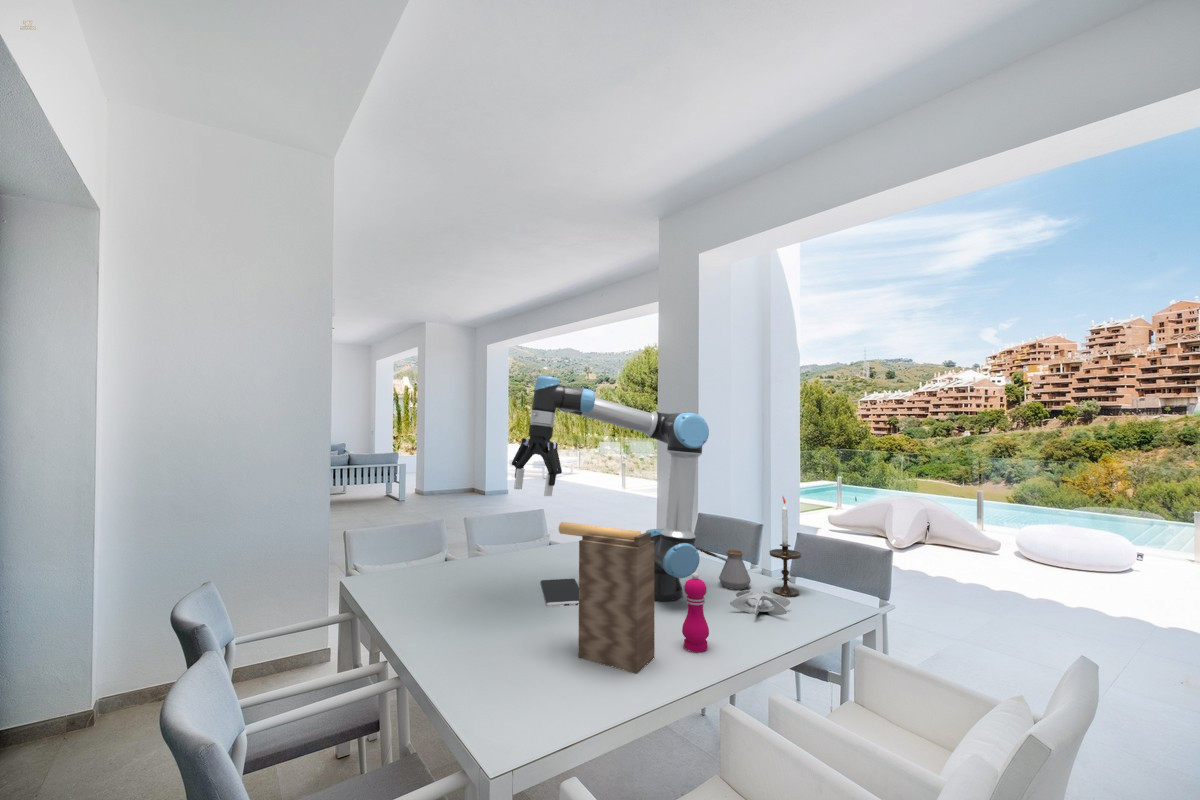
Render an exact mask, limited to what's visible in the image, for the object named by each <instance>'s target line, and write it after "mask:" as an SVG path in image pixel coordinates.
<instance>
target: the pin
mask: <svg viewBox="0 0 1200 800" xmlns="http://www.w3.org/2000/svg"><path fill="white" fill-rule="evenodd" d="M558 532H559V534H561V535H568V536H575V537H582V535H584V534H589V535H597V536H605V537H612V538H620V539H628V540H634V537H636V536H639V535H641V534H642V532H641V530H640V531H639V530H635V529H634V530H633V529H625V528H624V529H623V528H616V527H608V526H607V527H606V526H597V525H589V524H582V523H575V522H565V521H562V522H560V523H559V525H558Z"/></svg>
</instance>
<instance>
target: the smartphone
mask: <svg viewBox="0 0 1200 800" xmlns="http://www.w3.org/2000/svg"><path fill="white" fill-rule="evenodd" d="M540 588H541V591H542V595H543V598H544V602H546V603H545V606H546V607H548V606H551V607H560V606H559V605H564V606H565V605H568V604H569V605H568V606H575V605H574V604H576V605H578V604H579V584H578V583H577V581H576V578H571V577H569V578H553V579H552V578H551V579H541V580H540Z"/></svg>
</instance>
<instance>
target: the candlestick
mask: <svg viewBox="0 0 1200 800" xmlns="http://www.w3.org/2000/svg"><path fill="white" fill-rule="evenodd" d="M781 499H782V501H783V505H782V507H781V532H782V534H781V535H782V536H781V537H782V538H781V539H782V542H781V543H780V544H779V546H780V547H781V548H778V549H777V548H775V549H770V550H769V555H770V557H773V558H776V559H781V560H782V561H783V565H782V566H783V569H782V570H780V572H781V574H782V577H781V579H782V581H783V585H782V586H775V587H773V588H772V589H771V590H772V593H774V594H777V595H780V596H783V597H785V598H795V597H799V595H800V592H799V590H798V589H796V588H793V587H790V586H789V585H788V584H789V583H788V581H790V578H789V575H790V570H788V561H790V560H799V559H801V558H802V553H801V552H799V551H797V550H792V549H789V547H791V545H790V544H789V542H788V541H789V539H788V538H789V536H788V533H789V532H788V530H789V528H788V507H787V506H786V503H787V502H786V499H785V496H782V498H781Z"/></svg>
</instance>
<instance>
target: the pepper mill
mask: <svg viewBox="0 0 1200 800" xmlns="http://www.w3.org/2000/svg"><path fill="white" fill-rule="evenodd" d="M691 577H692V578H689V579H688V580H686V581H685V583H684V586H683V587H684V593H685V594H686V596H685V599H686V602H685V603H687V613H686V616H685V619H684V621H683V623H682V628H681V632H682V635H683V637H684V640H683V647H685V648H686V649H687V651H688V650H689V652H692V651H693V652H692V653H703V652H705V650H706V651H707V650H708V640H706V639H708V638H709V635H710V630H709V629H710V628H709V624H708V622H707V620H706V618H705V615H704V614H705V613H704V604H705V603H706V601H705V597H704V596H705V595H706V594H707V584H706V583H705V581H704V580H702V579H701V578H699V574H698V573H697V572H694V573H693V574H691ZM685 648H684V649H685ZM686 649H685V650H686ZM702 651H703V652H702Z"/></svg>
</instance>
